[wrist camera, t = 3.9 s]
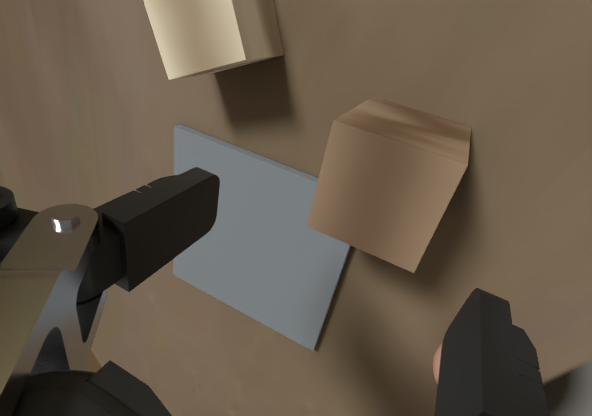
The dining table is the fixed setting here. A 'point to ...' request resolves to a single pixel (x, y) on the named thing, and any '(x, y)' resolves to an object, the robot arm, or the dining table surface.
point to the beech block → (213, 34)
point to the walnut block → (388, 179)
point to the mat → (260, 240)
